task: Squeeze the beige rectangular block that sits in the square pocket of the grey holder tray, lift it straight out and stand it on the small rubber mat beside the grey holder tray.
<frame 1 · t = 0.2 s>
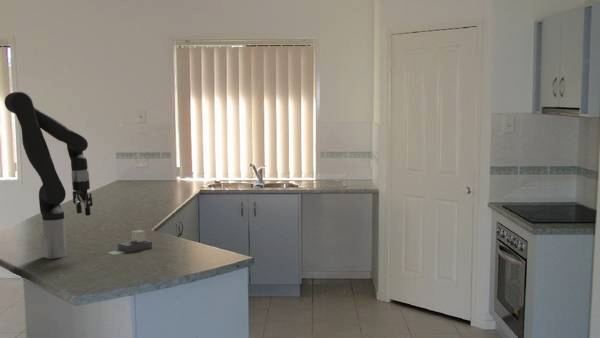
hand: (83, 214, 301), 17 cm above the worktop, tool pointing down, fingers open, 8 cm apart
grey holder tray: (135, 249, 303), on the worktop
mat: (116, 253, 296), on the worktop
beige rectangular block: (139, 248, 305), resting on grey holder tray
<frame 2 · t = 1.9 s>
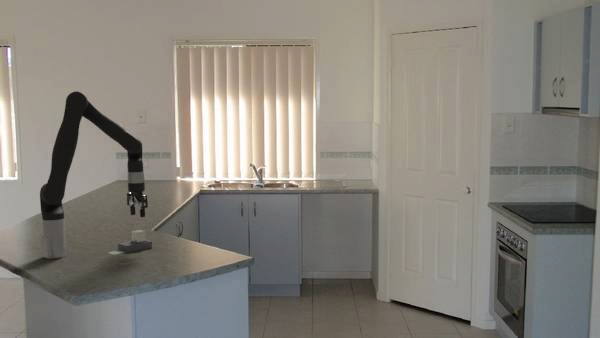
hand: (137, 216, 303), 16 cm above the worktop, tool pointing down, fingers open, 8 cm apart
nothing on the worktop moved.
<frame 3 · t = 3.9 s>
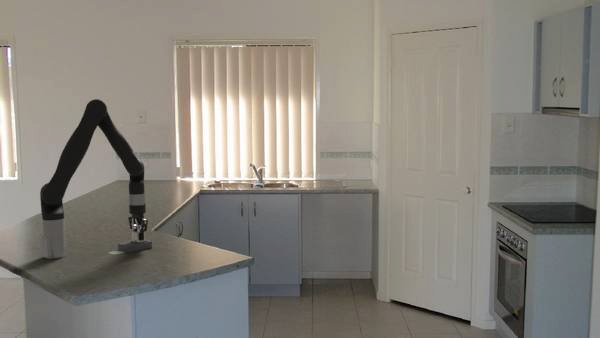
hand: (138, 239, 304), 5 cm above the worktop, tool pointing down, fingers closed on beige rectangular block, 4 cm apart
beige rectangular block: (139, 248, 305), point 1 cm above the worktop, touching gripper, grey holder tray
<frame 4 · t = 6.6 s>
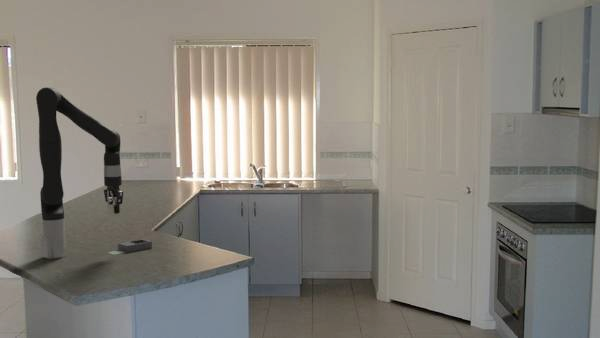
hand: (114, 212, 294), 19 cm above the worktop, tool pointing down, fingers closed on beige rectangular block, 4 cm apart
beige rectangular block: (114, 221, 295), point 15 cm above the worktop, touching gripper
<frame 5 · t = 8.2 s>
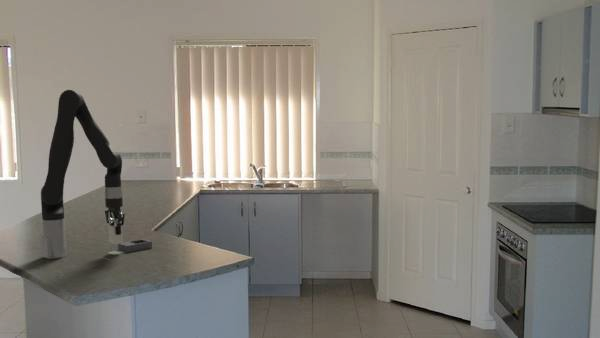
hand: (115, 233, 295), 9 cm above the worktop, tool pointing down, fingers closed on beige rectangular block, 4 cm apart
beige rectangular block: (116, 242, 296), point 5 cm above the worktop, touching gripper
when the fingers open (6 cm above the worktop, at t = 9.6 s): beige rectangular block drops 2 cm, resting on mat.
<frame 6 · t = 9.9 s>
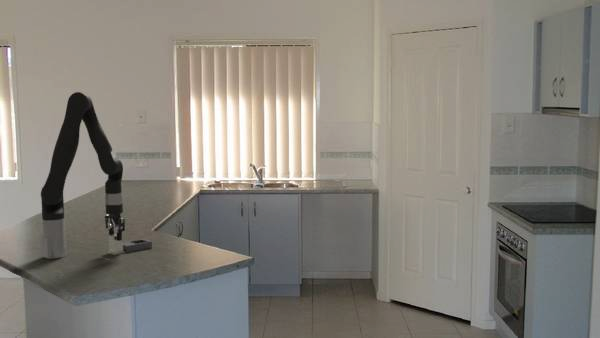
hand: (115, 239, 295), 7 cm above the worktop, tool pointing down, fingers open, 6 cm apart
beige rectangular block: (116, 252, 296), point 1 cm above the worktop, touching mat
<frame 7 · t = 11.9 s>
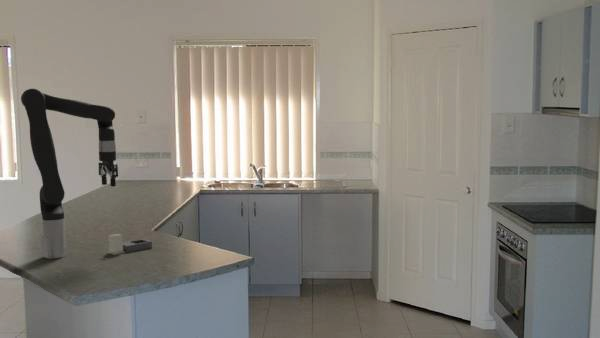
hand: (108, 185, 301), 30 cm above the worktop, tool pointing down, fingers open, 8 cm apart
nothing on the worktop moved.
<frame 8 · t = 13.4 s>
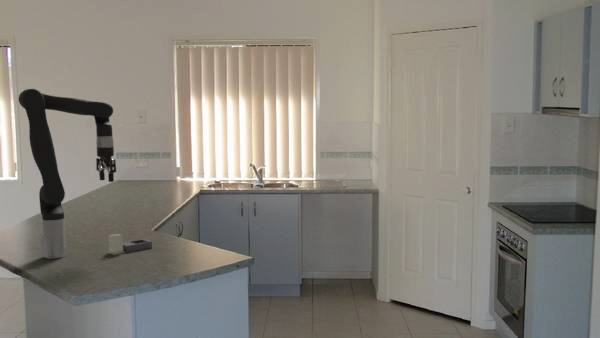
hand: (106, 180, 303), 32 cm above the worktop, tool pointing down, fingers open, 8 cm apart
nothing on the worktop moved.
at the end: beige rectangular block inside the target area on the mat (0.1 cm from its centre), point 0.6 cm above the mat's base; beige rectangular block tilted 0°; the gripper is holding nothing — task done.
